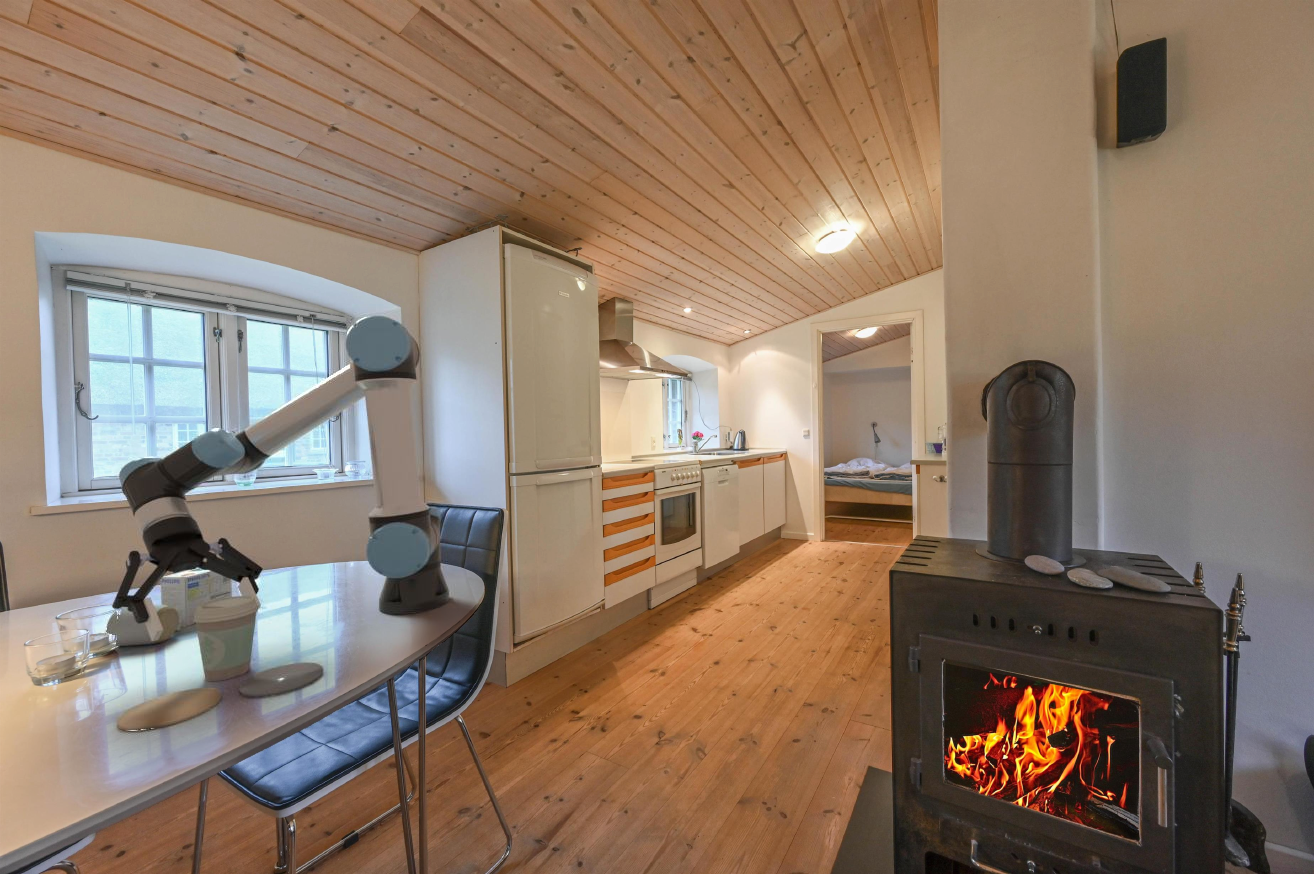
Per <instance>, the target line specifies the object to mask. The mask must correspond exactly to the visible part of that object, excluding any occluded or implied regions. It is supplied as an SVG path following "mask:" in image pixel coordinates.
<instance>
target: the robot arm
mask: <svg viewBox="0 0 1314 874" xmlns="http://www.w3.org/2000/svg"><path fill="white" fill-rule="evenodd" d="M344 343H345V349H346V352H347V355H348V357H349V359H350V362H349V364H348V365H346V366H345V367H343V368H342V369H341V370H339V371H337V372H336V373H334V374H333V375H331V376H329V377H327V378H326V379H324V380H322V381H321V382H320V383H317V384H316V385H315V386H313V387H311V388H309V389H308V390H306V391H304V392H303V393H301V394H299V396H297V397H295V398H293V399H291V400H290V401H289V402H287V403H284V404H283V405H282V406H280V407H279V408H277V409H275V410H274V411H272V412H271V413H269V414H267V415H266V416H263V418H261V419H259V420H258V421H256V422H255V423H252V424H251V425H249V426H248V427H246V428H245V429H244V430H242V431H240V432H238V433H237V434H235V435H233V434H232V432H229V431H226V430H225V429H223V428H218V427H217V428H212V429H210V430H208V431H206V432H204V433H202V434H199V435H197V436H196V437H194V439H192V440H191V441H188V442H187V443H186V444H184V445H183V446H180V448H178V449H176V450H175V451H173V452H171V453H170V454H168V455H166V456H165V457H163V458H162V457H159V456H145V457H142V458H140V459H133V460H131V461H130V462H127V463H126V464H125V465H124V466H122V468H121V469H120V471H119V474H118V475H119V476H118V478H119V479H118V480H119V482H120V484H121V487H120V489H121V492H122V493H123V496H125V499H126V500H127V503H128V505H129V507H130V509H131V511H132V515H133V517H134V521H135V523H136V525H137V527H138V530H139V533H140V535H141V536H142V542H143V543H144V546H145V548H146V550H147V552H145V553H141V552H140V551H138V550H131V551H130V552H129V553H128V556H127V558H126V560H125V567H126V568H125V569H126V572H125V574H124V576H123V579H122V581H121V584H120V586H119V589H118V591H117V593H116V596H115V598H114V601H113V602H112V605H111V607H112V609H114V610H117V609H119V608H121V607H128V608H127V610H128V611H130V612H133V615H134V618H135V620H136V622H137V623H138V624H140V623H144V622H145V625H146V627H147V630H148V632H149V635H150V638H151V640H152V641H156V640H158V639H159V637H160V636H161V634H162V632H163V628H162V625H161V623H160V620H159V618H158V615H157V612H156V610H155V607H154V605H155V604H154V603H153V601H152V597H148V596H149V594H150V593H151V592H152V590H153V589H154V588H155V587H156V585H157V584H158V583H159V581H161V578H162V577H163V576H166V574H167V572H171V573H173V574H176V573H180V572H184V571H188V570H193V569H196V568H200V569H203V570H210V571H213V572H215V573H217V574H220V575H222V576H224V577H227V578H229V579H231V581H234V582H236V583H238V586H237V589H238V591H239V593H240V594H241V595H240V596H252V597H254V598H255V601H256V603H257V604H258V607H259V609H260V608H261V605H262V604H261V602H260V599H259V598H258V596H257V595H258V593H259V590H260V589H259V587H258V584H257V581H256V580H257V579H258V578H259V577H260V575H261V574H262V572H263V567H262V566H260V565H259V564H257V563H256V562H255V561H254V560H252V559H250V558H249V557H247V556H246V555H245V554H243V553H241V552H240V551H239V550H238V549H236V548H235V547H233V546H232V545H231V544H230V542H229V541H228V539H227V538H225V537H220V538H219V539H218V540H217V541H216V542H215V541H214V542H210V543H209V542H206V540H204V537H203V534H202V531H201V529H200V527H199V524H198V523H197V521H196V518H195V515H194V513H193V512H192V509H191V507H190V505H189V503H188V501H187V498H186V494H188V493H189V492H190V491H192V490H193V491H194V489H196V488H198V487H199V486H201V485H202V484H204V483H206V482H207V481H209V480H211V479H212V478H215V477H220V476H226V475H227V476H229V475H242V474H243V475H245V474H249V473H251V472H253V471H256V470H258V469H260V468H261V467H262V466H263V465H264V463H265V461H266V460H267V459H268V458H270V457H272V456H273V455H275V454H276V453H278V452H279V451H281V450H282V449H284V448H286V447H287V446H289V445H290V444H292V443H294V442H295V441H297V440H298V439H300V438H302V437H304V436H305V435H306V434H308V433H309V432H311V431H312V430H314V429H317V428H318V427H319V426H320V425H322V424H324V423H325V422H327V421H328V420H330V419H332V418H334V417H335V416H336V415H338V414H340V413H341V412H343V411H344V410H346V409H348V408H349V407H350V406H352V405H354V404H356V403H357V402H359V401H361V400H362V399H364V398H365V400H364V401H365V406H366V407H365V409H366V418H367V419H366V420H367V427H368V429H367V430H368V438H369V439H368V441H369V449H370V459H371V468H372V481H373V489H374V498H375V506H374V508H373V509H372V510H371V511H370V512H369V514H368V526H369V533H370V534H369V535H370V537H369V539H368V540H367V543H366V550H365V553H366V559H367V562H368V564H369V565H370V567H371V568H372V569H373V570H374V571H375V572H376V573H378V574H379V575H381V576H384V577H385V579H384V583H383V586H382V589H381V592H380V594H379V598H378V599H379V600H378V610H379V611H380V612H382V613H384V612H385V614H392V615H400V614H401V615H402V614H403V615H404V614H405V613H406V614H412V613H413V612H415V613H420V611H421V612H425V610H426V611H430V610H432V608H433V609H436V608H439V607H442V606H443V604H444V603H445V604H447V603H448V602H449V601H450V590H449V587H448V584H447V581H446V579H445V578H446V577H445V576H444V573H443V572H442V563H441V562H442V561H441V560H442V558H441V556H442V555H441V554H442V553H441V521H442V518H441V513H440V509H439V508H438V507H436V506H429V505H427V503H425V502H423V501H422V499H421V489H420V479H419V468H418V459H417V457H418V456H417V450H416V449H417V448H416V439H415V438H416V437H415V428H414V417H413V408H412V398H411V389H413V387H414V386H415V385H416V384H417V382H418V380H417V370H416V369H417V368H418V365H419V363H420V357H421V351H420V347H419V344H418V342H417V341H416V340H415V339H414V336H412V335H411V334H410V333H409V331H408V330H407V328H406V327H405V326H404V325H403V324H402V323H400V322H399V321H397V320H394V319H393V318H390V317H388V316H384V315H370V316H365V317H363V318H361V319H359V320H357V321H356V322H354V323H353V324H352V325H351V327H350V328H349V329H348V330H347V333H346V336H345V342H344ZM218 556H219V557H218ZM205 559H206V561H204V560H205ZM146 562H149V563H150V564H152V565H155V566H156V567H155V569H154V570H153V571H152V572H151V573H150V575H149V576H148V577H147V579H146V580H144V582H143V583H142V585H141V586H140V587H139V588H138V589H137V590H136V592H135V593H134V594H132V595H129V592H130V591H131V588H132V585H133V582H134V580H135V578H136V576H137V573H138V571H139V568H140V567H143V566H144V565H145V563H146ZM448 600H449V601H448ZM447 601H448V602H447ZM446 602H447V603H446ZM445 604H444V605H445ZM441 605H442V606H441ZM438 606H439V607H438ZM435 607H436V608H435ZM259 609H258V610H259ZM429 609H430V610H429ZM258 610H257V611H256V614H257V612H258Z"/></svg>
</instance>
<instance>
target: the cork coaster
mask: <svg viewBox="0 0 1314 874" xmlns="http://www.w3.org/2000/svg"><path fill="white" fill-rule="evenodd" d="M221 700H222V691H221V689H217V688H216V687H215V688H213V687H198V688H197V687H196V688H190V689H185V690H179V691H174V692H170V693H167V694H164V695H160V696H157V697H154V698H152V699H149V700H146V701H143V702H141V703H139V704H137V705H136V706H133V707H131V708H130V709H127V710H126V711H125V712H123V713H122V714H121V715H120V716H119V717H118V718H117V727H118V729H119V730H121V729H122V730H121V731H124V730H141V729H151V728H157V729H160V728H159V727H161V728H164V726H165V727H168V726H172V725H175V724H180V723H182V722H185V721H188V720H191V719H192V718H195V717H197V716H200V715H202V714H204V713H205V712H208V711H209V710H211V709H213V708H214V707H216V706H217V705H218V704H219V703H220V702H221ZM151 730H152V729H151Z"/></svg>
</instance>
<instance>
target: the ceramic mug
mask: <svg viewBox="0 0 1314 874" xmlns="http://www.w3.org/2000/svg"><path fill="white" fill-rule="evenodd" d="M153 605H154V607H155V610H156V612H157V615H158V618H159V620H160V623H161V625H162V628H163V632H162V634H161V636H160V637H159V639H158V640H156V641H152V640H151V638H150V635H149V632H148V630H147V627H146V625H145V622H144V623H140V624H138V623H137V622H136V620H135V618H134V615H133V612H130V611H128V610H127V608H128V607H122V611H121V615H119V614H118V615H117V612H116V610H115V611H114V612H113V613H112V615H111V616H110V618H109V619H108V621H107V624H106V628H107V630H106V629H105V633H106V632H107V633H109V634H112V635H115V638H116V635H117V640H116V646H115V647H124V646H125V647H127V646H140V645H143V646H144V645H154V644H155V645H156V644H160V643H163V642H166V641H167V640H168V639H170V638H171V637H172V636H173V635H174V634H175V632H179V631H180V630H181V627H182V626H181V623H178V622H179V615H178V612H177V610H176V609H175V608H174V607H171V606H166V605H161V604H153ZM117 616H118V619H117Z"/></svg>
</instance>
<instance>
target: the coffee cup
mask: <svg viewBox="0 0 1314 874" xmlns="http://www.w3.org/2000/svg"><path fill="white" fill-rule="evenodd" d="M259 609H260V608H259V607H258V604H257V603H256V601H255V598H254V597H252V596H242V595H236V596H232V597H228V598H222V599H217V600H213V601H209V602H206V603H204V604H201V605H199V606H198V607H197V610H196V613H195V614H194V619H193V621H194V622H196V623H195V625H196V626H195V628H196V633H197V638H198V644H199V645H198V646H199V650H200V657H201V663H202V668H203V674H204V679H205V681H209V682H219V681H225V680H229V679H232V678H236V677H239V676H242V675H244V674H245V673H247V672H248V671H249V669H250V667H251V660H252V654H253V644H254V643H253V642H254V635H255V628H256V618H257V613H256V611H257V610H259ZM257 612H258V611H257Z"/></svg>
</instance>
